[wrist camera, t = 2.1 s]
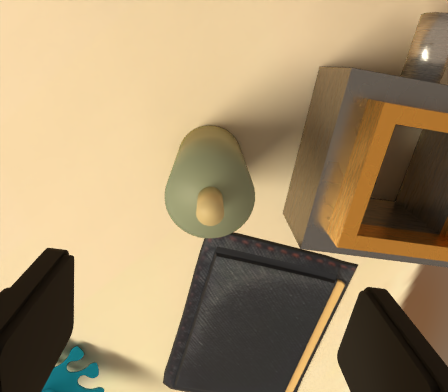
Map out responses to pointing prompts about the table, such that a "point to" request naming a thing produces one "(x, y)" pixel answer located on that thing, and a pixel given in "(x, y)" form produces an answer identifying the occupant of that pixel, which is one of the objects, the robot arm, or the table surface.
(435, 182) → the box
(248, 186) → the spout can
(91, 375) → the gear
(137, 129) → the table surface
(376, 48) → the table surface
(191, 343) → the dark grey flat slab
